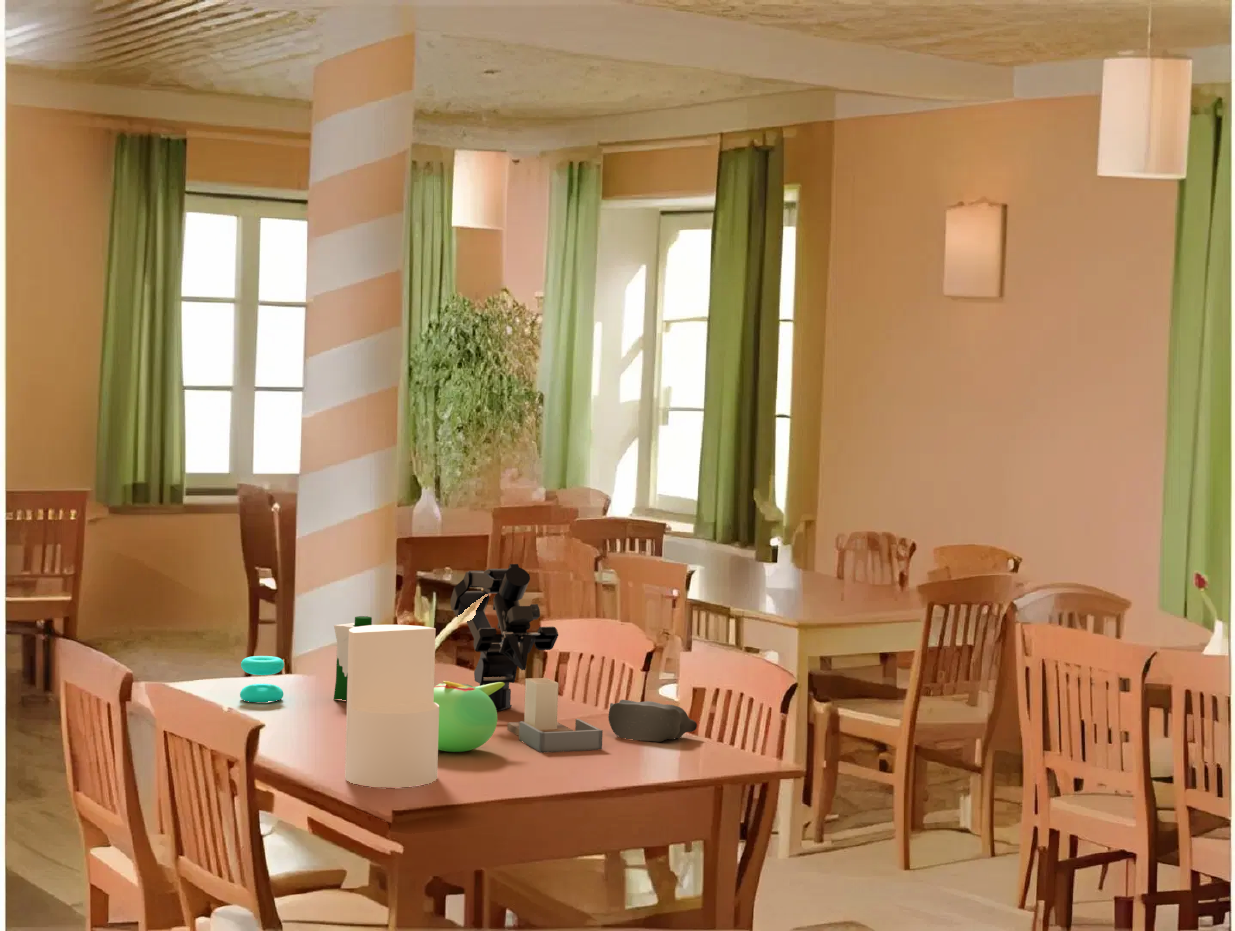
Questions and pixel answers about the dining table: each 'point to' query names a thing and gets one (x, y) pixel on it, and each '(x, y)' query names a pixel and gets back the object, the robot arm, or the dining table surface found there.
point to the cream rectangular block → (541, 703)
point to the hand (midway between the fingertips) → (523, 669)
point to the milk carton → (345, 654)
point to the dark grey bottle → (649, 721)
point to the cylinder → (391, 706)
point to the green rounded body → (465, 715)
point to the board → (514, 729)
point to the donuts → (262, 667)
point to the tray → (562, 738)
